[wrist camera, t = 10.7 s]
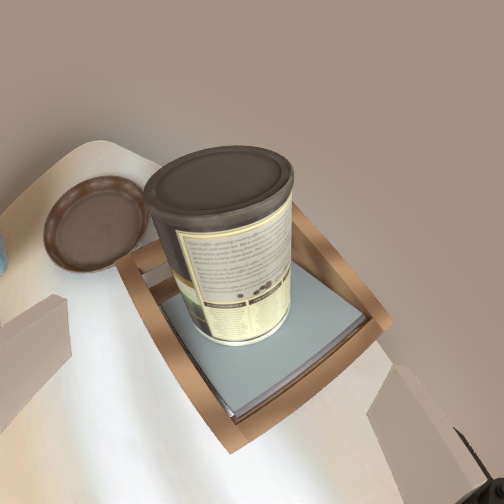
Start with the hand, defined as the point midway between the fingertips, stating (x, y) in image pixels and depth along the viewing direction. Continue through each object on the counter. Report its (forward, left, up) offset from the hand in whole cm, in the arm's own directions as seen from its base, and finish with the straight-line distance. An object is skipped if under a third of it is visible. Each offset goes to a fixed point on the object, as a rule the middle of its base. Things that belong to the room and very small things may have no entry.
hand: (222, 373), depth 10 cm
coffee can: (-6, +7, -16) cm, 19 cm away
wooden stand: (-5, +8, -29) cm, 30 cm away
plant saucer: (-34, -3, -29) cm, 45 cm away
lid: (-4, +8, -16) cm, 18 cm away
